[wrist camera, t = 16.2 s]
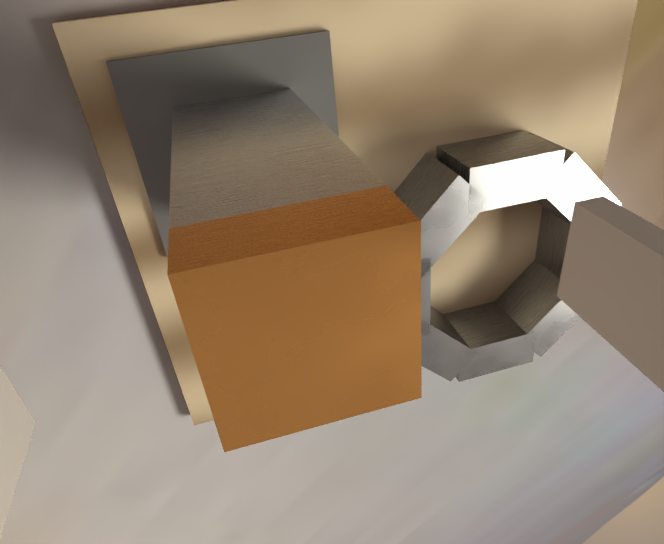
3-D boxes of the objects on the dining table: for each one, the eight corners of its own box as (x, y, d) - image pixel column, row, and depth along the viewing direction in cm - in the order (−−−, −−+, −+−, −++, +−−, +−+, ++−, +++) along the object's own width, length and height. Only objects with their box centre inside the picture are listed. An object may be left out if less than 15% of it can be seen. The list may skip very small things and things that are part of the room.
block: (200, 215, 24) (224, 452, 12) (172, 106, 21) (167, 274, 9) (304, 195, 24) (421, 397, 13) (290, 88, 22) (420, 220, 10)
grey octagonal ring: (358, 160, 25) (382, 185, 22) (591, 116, 27) (642, 134, 24) (372, 360, 32) (392, 400, 29) (556, 312, 34) (592, 344, 31)
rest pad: (107, 60, 20) (105, 62, 19) (327, 29, 21) (329, 30, 21) (168, 256, 25) (168, 260, 24) (344, 220, 26) (346, 223, 26)
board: (56, 21, 19) (51, 23, 19) (634, -51, 24) (648, -52, 23) (193, 415, 31) (194, 425, 30) (565, 318, 35) (572, 324, 35)
